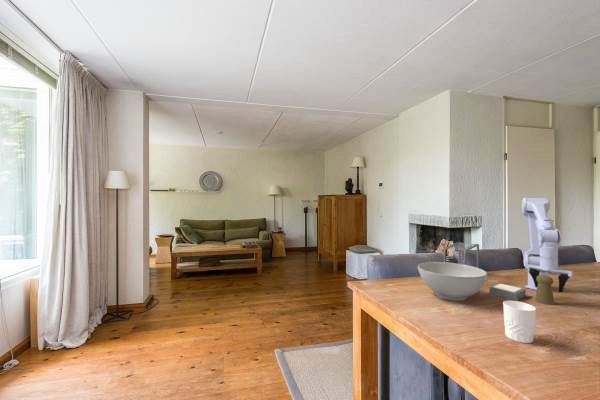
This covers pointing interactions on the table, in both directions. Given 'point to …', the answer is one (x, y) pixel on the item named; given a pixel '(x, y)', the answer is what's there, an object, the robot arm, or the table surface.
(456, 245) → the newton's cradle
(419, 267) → the decorative bowl
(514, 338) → the white cup
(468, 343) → the table surface
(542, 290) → the cork
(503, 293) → the plinth
